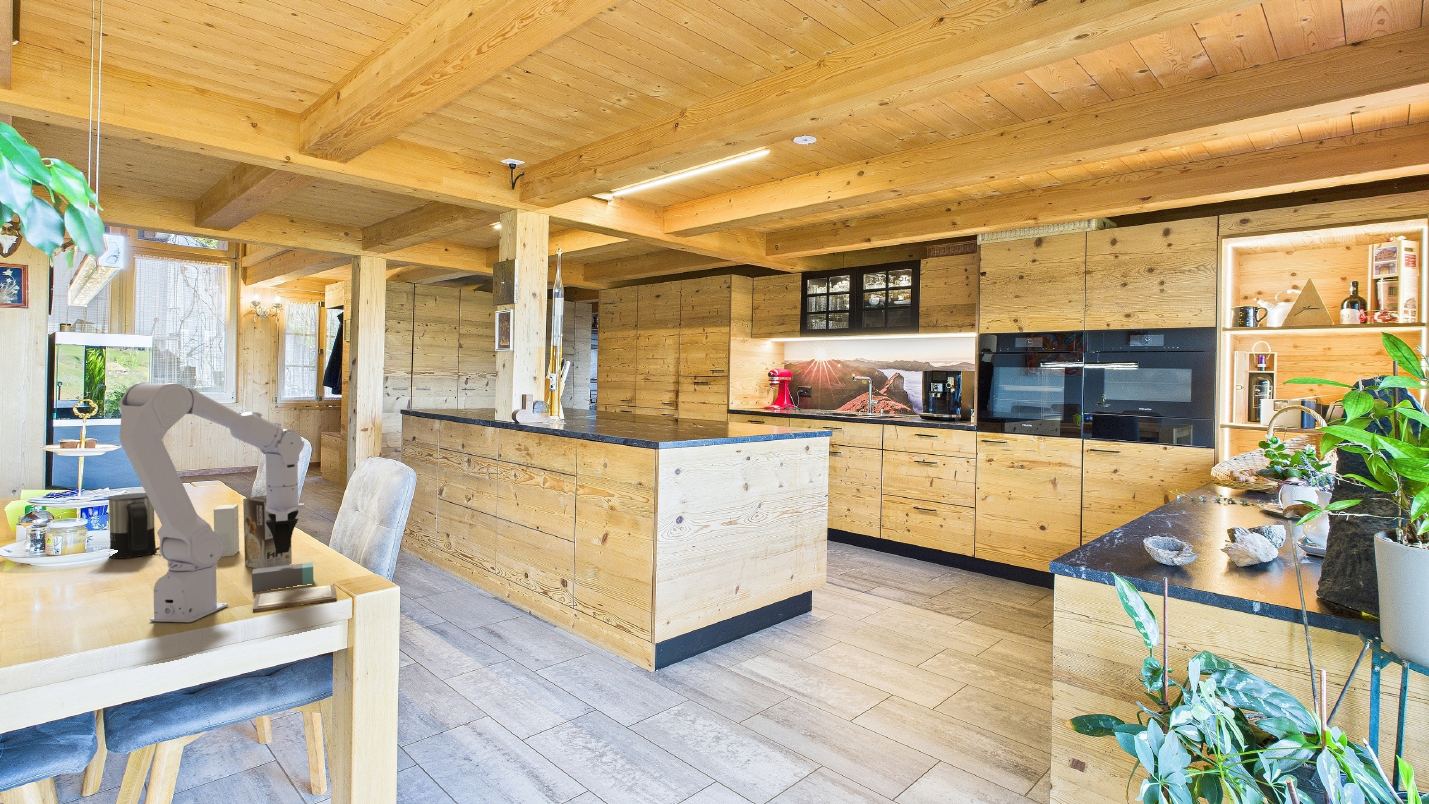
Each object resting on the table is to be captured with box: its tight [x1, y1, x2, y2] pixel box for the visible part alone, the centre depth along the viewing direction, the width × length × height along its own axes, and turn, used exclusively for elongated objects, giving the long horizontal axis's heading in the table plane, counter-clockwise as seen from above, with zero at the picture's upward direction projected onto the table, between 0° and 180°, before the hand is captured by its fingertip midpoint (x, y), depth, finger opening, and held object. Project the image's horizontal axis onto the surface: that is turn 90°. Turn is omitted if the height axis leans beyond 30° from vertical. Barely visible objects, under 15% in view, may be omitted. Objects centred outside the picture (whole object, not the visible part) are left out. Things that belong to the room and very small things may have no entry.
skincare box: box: [213, 503, 240, 558], centre depth 173 cm, size 6×4×12 cm
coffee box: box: [242, 495, 293, 569], centre depth 164 cm, size 9×6×16 cm
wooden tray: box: [252, 584, 337, 613], centre depth 140 cm, size 14×10×1 cm
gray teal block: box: [251, 561, 314, 593], centre depth 148 cm, size 11×4×4 cm, turn 121°
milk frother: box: [106, 492, 160, 559], centre depth 174 cm, size 14×16×15 cm
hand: (283, 548), depth 148 cm, fingers open, 7 cm apart
